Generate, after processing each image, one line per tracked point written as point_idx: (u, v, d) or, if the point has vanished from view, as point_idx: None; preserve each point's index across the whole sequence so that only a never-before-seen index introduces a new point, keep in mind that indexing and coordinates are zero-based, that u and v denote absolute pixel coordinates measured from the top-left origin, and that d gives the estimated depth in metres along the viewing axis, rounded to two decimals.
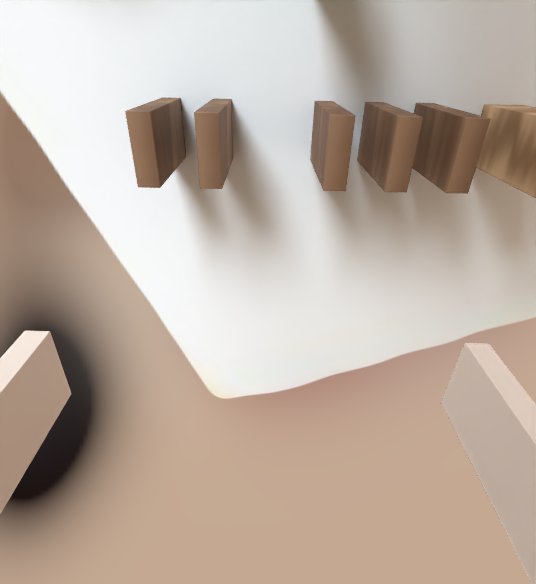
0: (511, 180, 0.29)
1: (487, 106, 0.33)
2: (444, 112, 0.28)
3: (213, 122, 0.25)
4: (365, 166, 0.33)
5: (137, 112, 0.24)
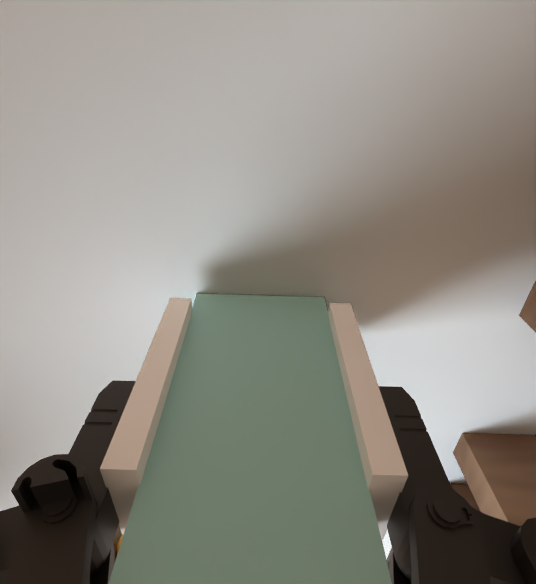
0: None
1: None
2: None
3: None
4: None
5: None
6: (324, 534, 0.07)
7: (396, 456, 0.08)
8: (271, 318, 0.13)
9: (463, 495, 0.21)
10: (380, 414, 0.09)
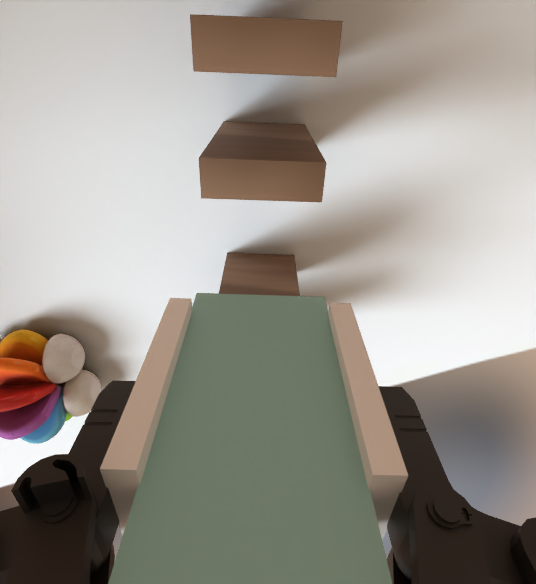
0: None
1: None
2: None
3: None
4: None
5: None
6: (324, 534, 0.07)
7: (396, 456, 0.08)
8: (271, 318, 0.13)
9: None
10: (380, 414, 0.09)
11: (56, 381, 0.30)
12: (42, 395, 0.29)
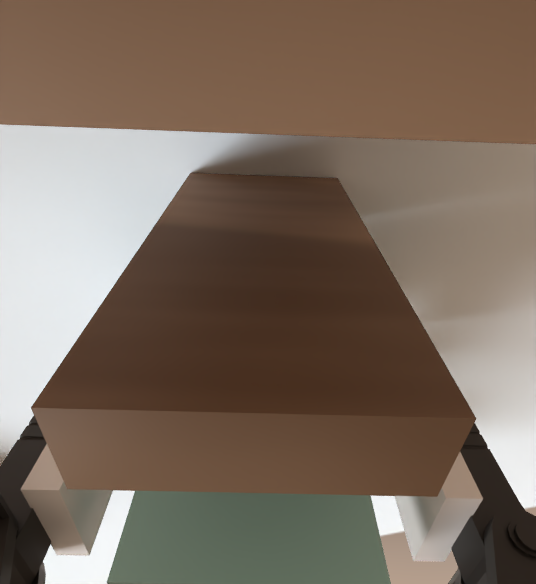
0: None
1: None
2: None
3: None
4: None
5: None
6: (320, 507, 0.08)
7: (467, 477, 0.08)
8: None
9: None
10: None
11: None
12: None
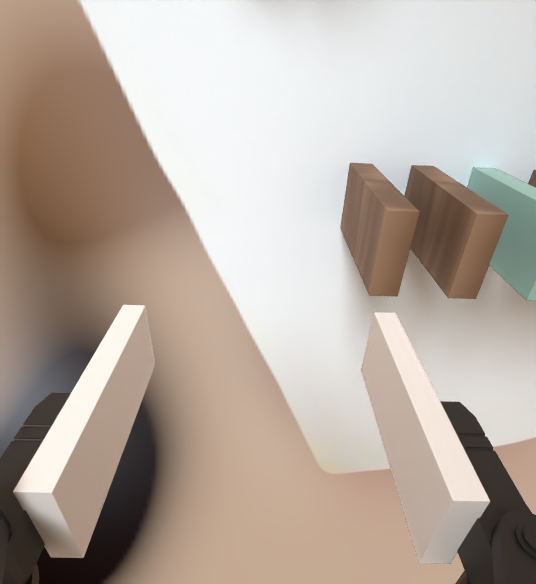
0: None
1: None
2: None
3: (497, 225, 0.19)
4: None
5: (403, 212, 0.19)
6: None
7: (473, 480, 0.08)
8: None
9: None
10: (448, 433, 0.09)
11: None
12: None
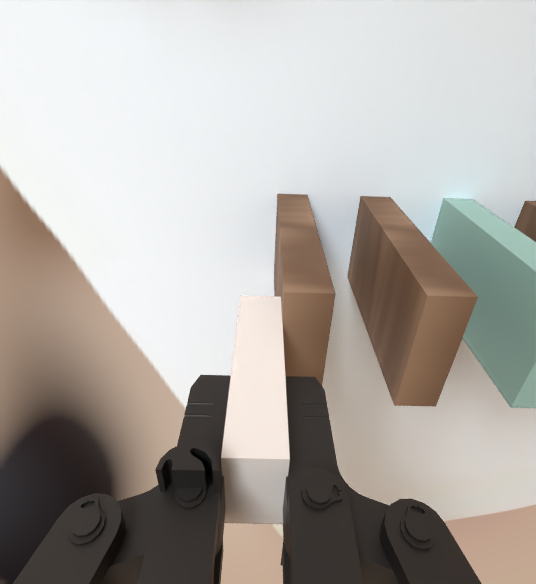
0: None
1: None
2: None
3: (461, 311, 0.12)
4: None
5: (309, 294, 0.12)
6: None
7: (283, 441, 0.08)
8: None
9: None
10: (279, 402, 0.09)
11: None
12: None
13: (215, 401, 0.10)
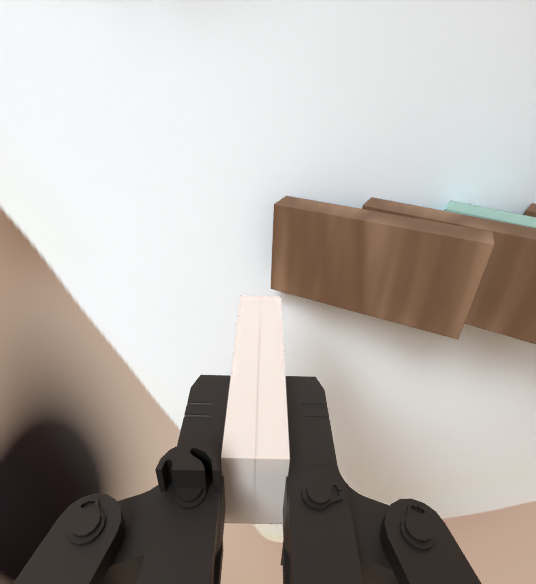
0: None
1: None
2: None
3: None
4: None
5: (493, 239, 0.16)
6: None
7: (283, 441, 0.08)
8: None
9: None
10: (279, 402, 0.09)
11: None
12: None
13: (215, 401, 0.10)
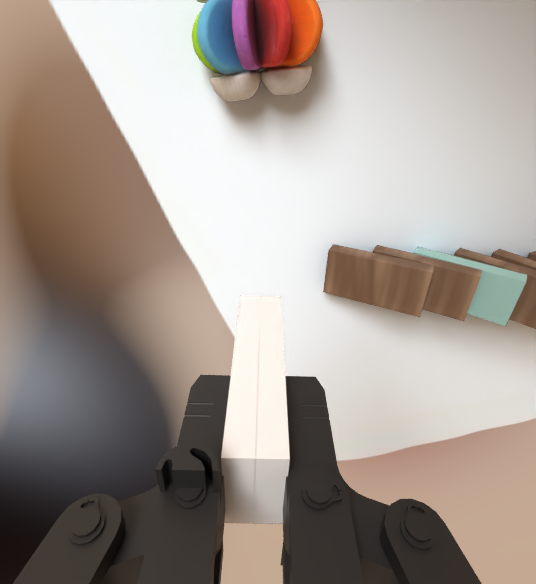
0: None
1: None
2: None
3: None
4: None
5: (433, 269, 0.35)
6: None
7: (283, 441, 0.08)
8: None
9: None
10: (279, 402, 0.09)
11: (275, 76, 0.28)
12: (270, 65, 0.27)
13: (215, 401, 0.10)
